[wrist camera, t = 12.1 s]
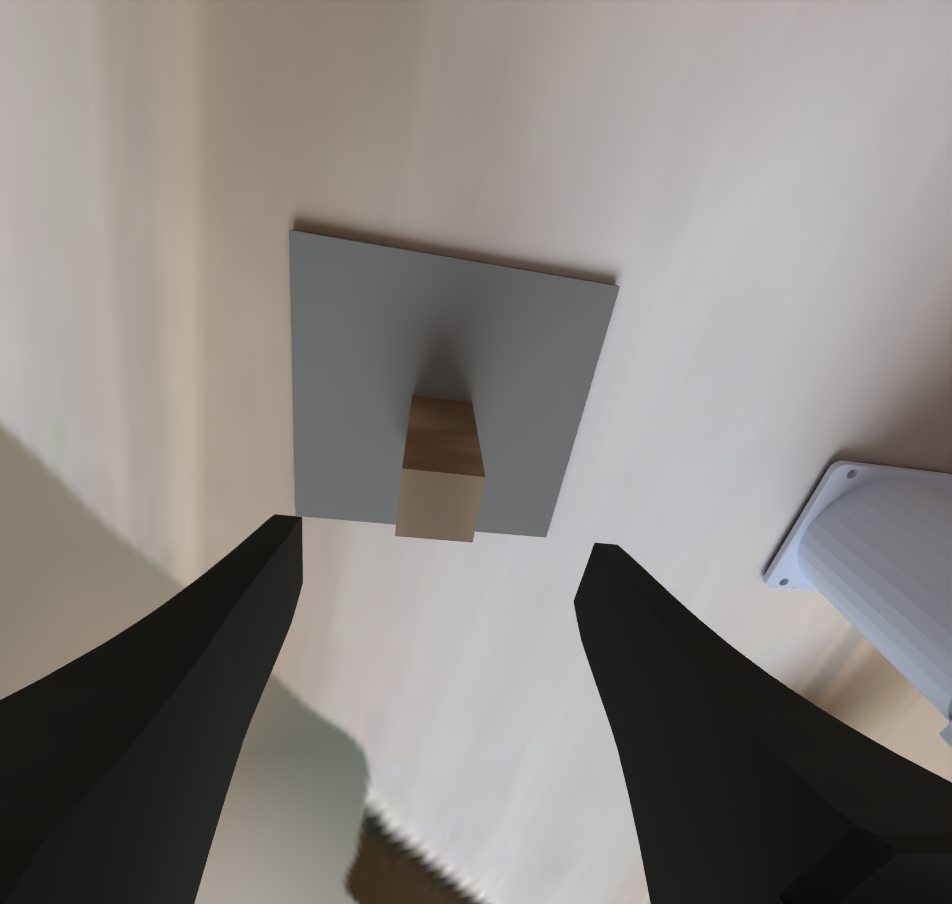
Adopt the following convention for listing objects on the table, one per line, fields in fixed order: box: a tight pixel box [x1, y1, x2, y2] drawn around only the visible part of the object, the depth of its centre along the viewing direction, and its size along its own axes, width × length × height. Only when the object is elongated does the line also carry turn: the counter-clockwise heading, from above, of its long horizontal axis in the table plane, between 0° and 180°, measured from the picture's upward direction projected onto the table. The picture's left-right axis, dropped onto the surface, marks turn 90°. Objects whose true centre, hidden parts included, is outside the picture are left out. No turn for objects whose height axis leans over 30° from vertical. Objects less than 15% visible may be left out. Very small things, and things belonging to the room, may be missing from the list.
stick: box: [395, 395, 485, 542], centre depth 17 cm, size 2×2×6 cm
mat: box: [289, 230, 619, 537], centre depth 19 cm, size 12×12×1 cm
